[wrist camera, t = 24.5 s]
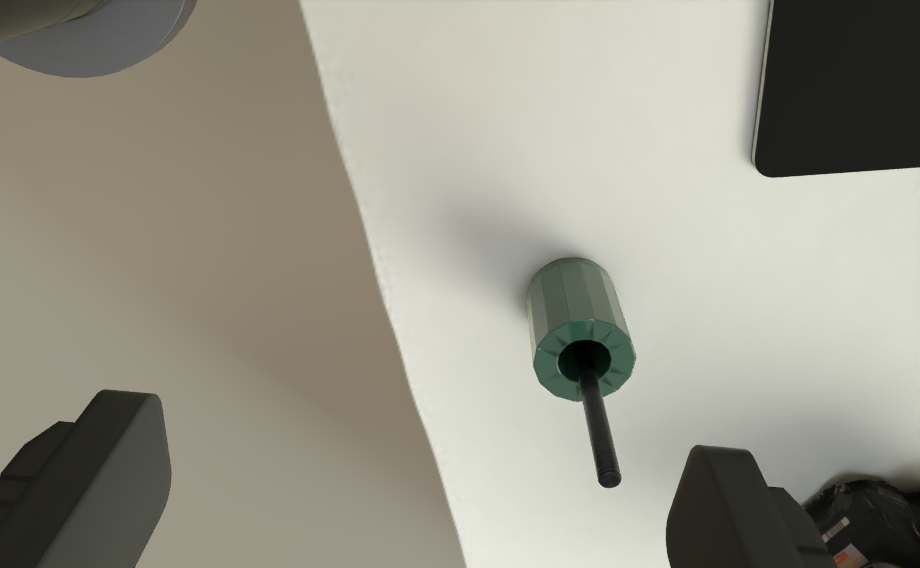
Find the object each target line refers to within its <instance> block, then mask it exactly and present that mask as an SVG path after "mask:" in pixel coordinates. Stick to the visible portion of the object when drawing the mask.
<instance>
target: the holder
mask: <svg viewBox="0 0 920 568" xmlns="http://www.w3.org/2000/svg"><path fill="white" fill-rule="evenodd" d="M527 312H528V322H529V331H530V340H531V350H532V359H533V367H534V370H535V372H536V375H537V378H538V380H539V382H540V384H541V385H542V386H544V387H545V388H546V389H547V390H548V391H550V392H551V393H552V394H553V395H555V396H557V397H561V398H564V399H568V400H571V401H576V402H579V401H583V400H582V395H581V390H580V385H579V379H578V374H577V369H576V364H575V359H574V354H573V349H572V344H571V343H573V342H575V341H580V340H589V342H590V346H591V350H592V355H593V359H594V363H595V367H596V372H597V376H598V380H599V384H600V389H601V393H602V397H605V396H607V395H609V394H611V393H613V392H615V391H617V390H618V389H619V388H620V387H621V386H622V385H623V384H624V383H625V382H626V381H627V380H628V378H629V377H630V376H631V375H632V371H633V368H634V364H635V360H636V354H635V351H634V347H633V344H632V341H631V338H630V335H629V331H628V328H627V325H626V322H625V319H624V316H623V313H622V310H621V307H620V304H619V301H618V298H617V295H616V292H615V289H614V286H613V283H612V281H611V279H610V277H609V275H608V274H607V273H606V272H605V271H604V269H602V268H601V267H600V266H598V265H597V264H595V263H593V262H591V261H588V260H584V259H579V258H567V259H562V260H558V261H555V262H553V263H550V264H549V265H547V266H545V267H544V268H543V269H541V270H540V271H539V272H538V273H537V274H536V275H535V277H534V278H533V279H532V281H531V283H530V285H529V288H528V292H527Z"/></svg>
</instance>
